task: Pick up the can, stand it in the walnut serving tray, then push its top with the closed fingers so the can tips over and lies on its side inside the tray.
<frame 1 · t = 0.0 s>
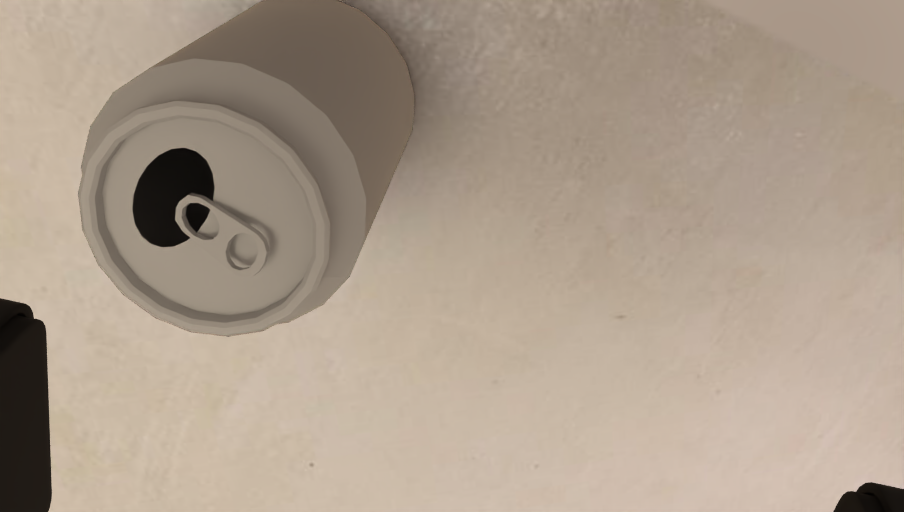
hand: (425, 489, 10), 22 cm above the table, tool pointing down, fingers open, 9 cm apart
can: (317, 93, 31), on the table
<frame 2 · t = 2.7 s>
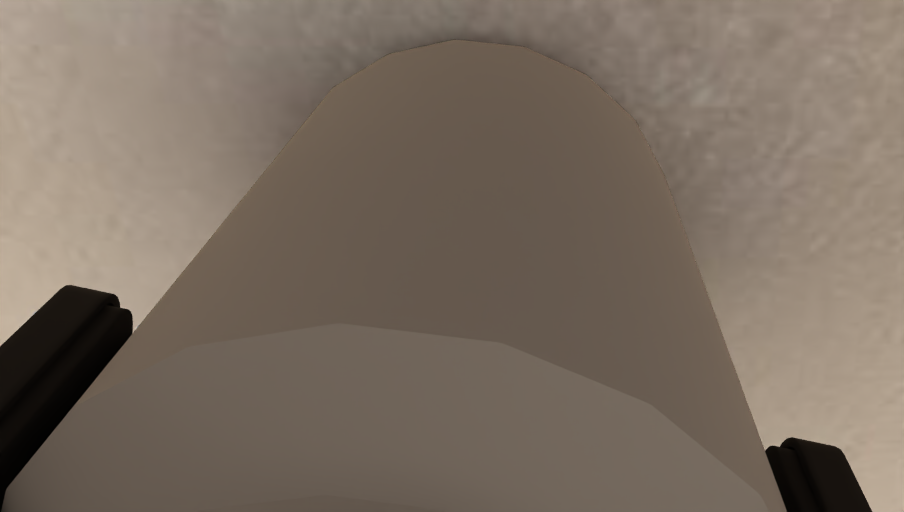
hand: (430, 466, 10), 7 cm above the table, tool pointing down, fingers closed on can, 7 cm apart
can: (473, 216, 17), on the table, touching gripper
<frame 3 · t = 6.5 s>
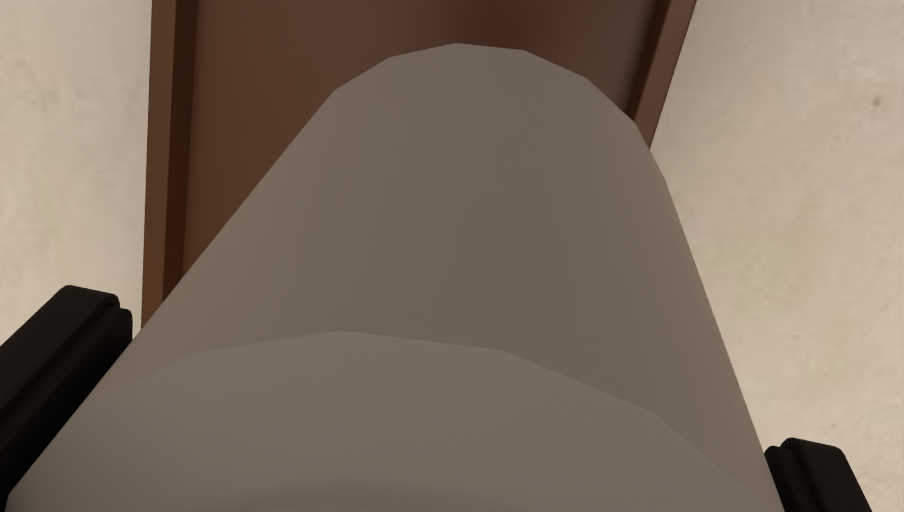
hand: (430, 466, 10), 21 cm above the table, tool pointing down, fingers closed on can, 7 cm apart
can: (473, 219, 17), point 14 cm above the table, touching gripper
tray: (394, 171, 32), on the table
when the fingers open (8 cm above the table, at t = 10.3 s): can stays where it is, resting on tray.
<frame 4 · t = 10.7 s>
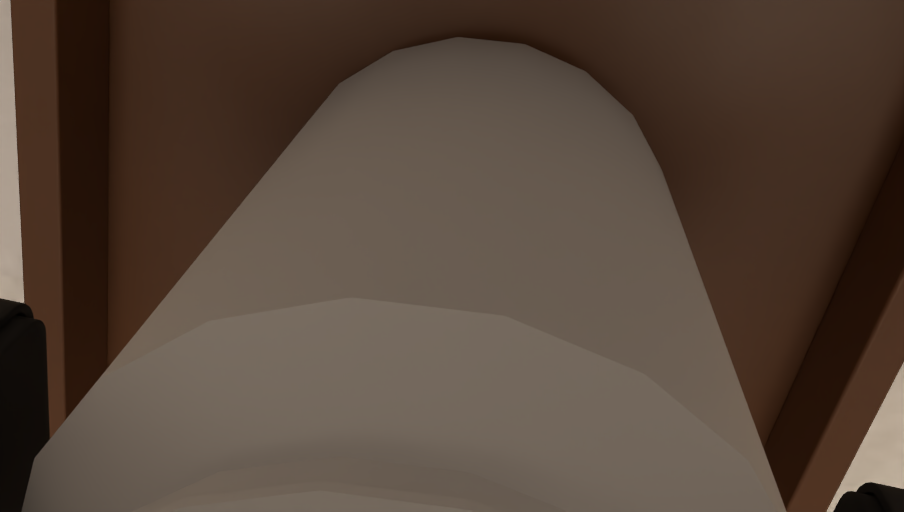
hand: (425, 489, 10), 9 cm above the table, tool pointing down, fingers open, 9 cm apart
can: (474, 210, 17), resting on tray
tray: (431, 395, 20), on the table
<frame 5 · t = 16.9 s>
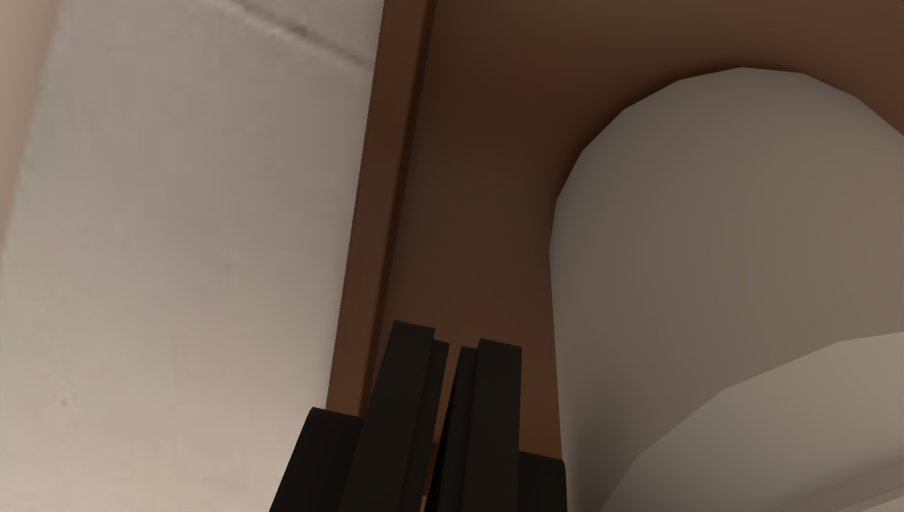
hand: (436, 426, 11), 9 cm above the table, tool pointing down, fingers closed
can: (717, 222, 19), resting on tray, touching gripper
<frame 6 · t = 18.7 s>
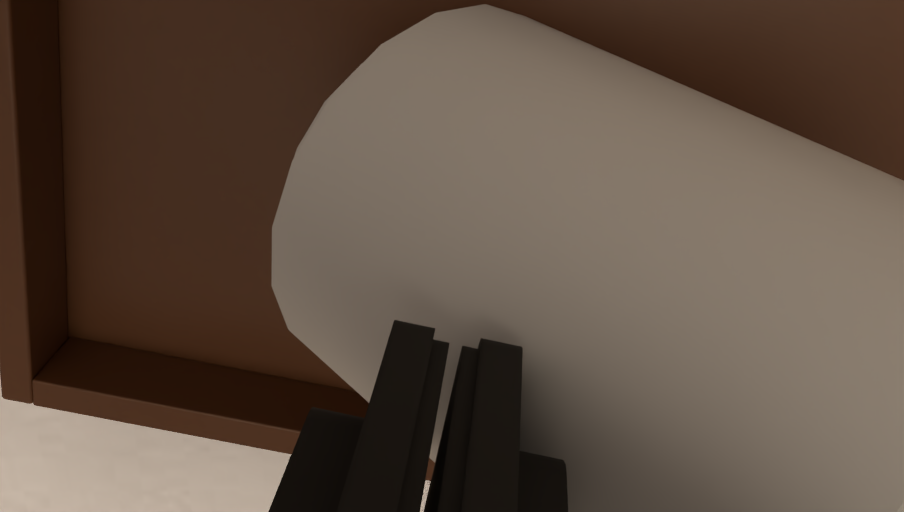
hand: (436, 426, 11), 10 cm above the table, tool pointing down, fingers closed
can: (399, 174, 17), point 3 cm above the table, touching gripper, tray
tray: (580, 156, 20), on the table
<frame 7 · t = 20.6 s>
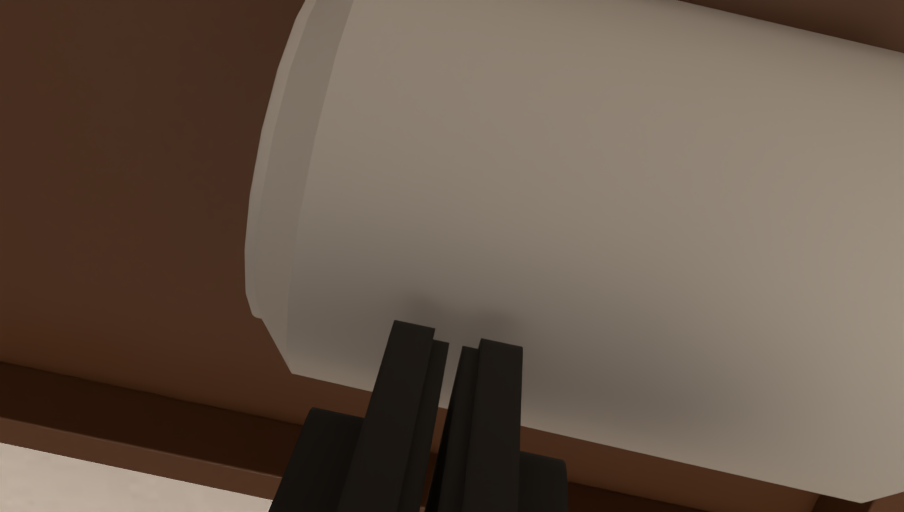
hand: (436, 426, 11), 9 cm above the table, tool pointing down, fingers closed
can: (287, 146, 15), point 4 cm above the table, touching tray
tray: (395, 157, 19), on the table
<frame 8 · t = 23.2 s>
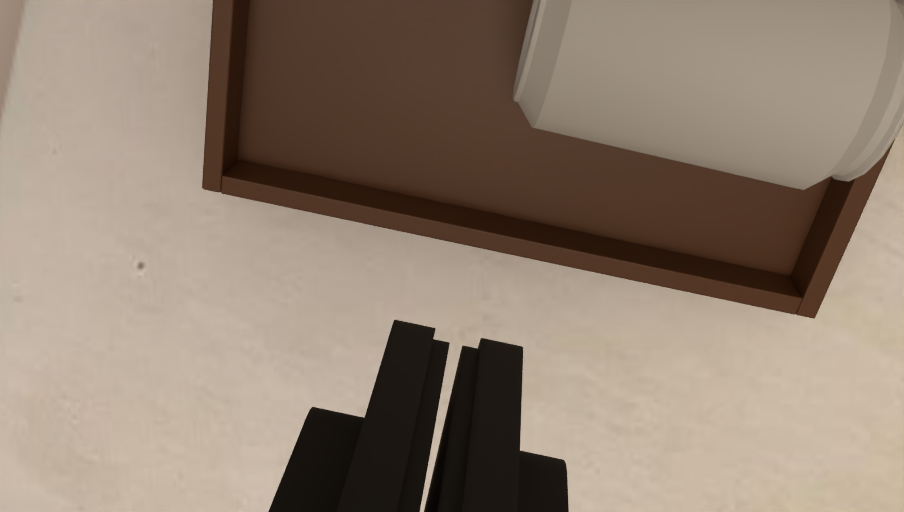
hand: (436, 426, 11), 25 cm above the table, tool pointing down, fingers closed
can: (527, 12, 29), point 4 cm above the table, touching tray
tray: (556, 39, 33), on the table
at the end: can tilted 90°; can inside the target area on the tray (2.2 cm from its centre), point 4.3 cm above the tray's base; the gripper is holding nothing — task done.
